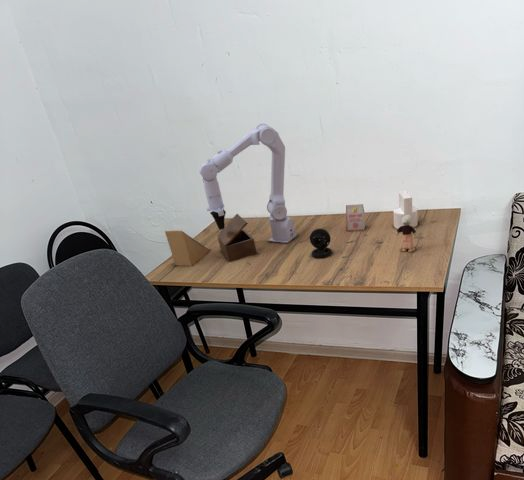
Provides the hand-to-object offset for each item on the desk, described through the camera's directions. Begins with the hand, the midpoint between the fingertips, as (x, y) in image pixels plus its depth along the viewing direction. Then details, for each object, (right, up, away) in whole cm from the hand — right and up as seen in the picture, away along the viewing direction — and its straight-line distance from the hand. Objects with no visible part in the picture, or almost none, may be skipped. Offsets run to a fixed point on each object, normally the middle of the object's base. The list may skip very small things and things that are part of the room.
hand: (221, 228), depth 190 cm
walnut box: (+7, -9, +4) cm, 12 cm away
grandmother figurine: (+68, -14, -22) cm, 73 cm away
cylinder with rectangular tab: (+73, 0, -4) cm, 73 cm away
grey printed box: (+55, 0, +2) cm, 55 cm away
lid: (+4, -1, -2) cm, 5 cm away
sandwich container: (-12, -10, +8) cm, 18 cm away
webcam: (+39, -13, -12) cm, 43 cm away
